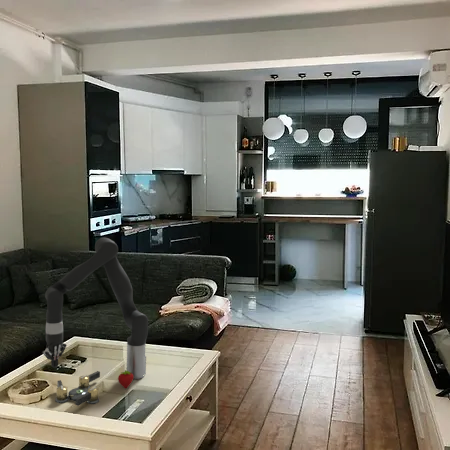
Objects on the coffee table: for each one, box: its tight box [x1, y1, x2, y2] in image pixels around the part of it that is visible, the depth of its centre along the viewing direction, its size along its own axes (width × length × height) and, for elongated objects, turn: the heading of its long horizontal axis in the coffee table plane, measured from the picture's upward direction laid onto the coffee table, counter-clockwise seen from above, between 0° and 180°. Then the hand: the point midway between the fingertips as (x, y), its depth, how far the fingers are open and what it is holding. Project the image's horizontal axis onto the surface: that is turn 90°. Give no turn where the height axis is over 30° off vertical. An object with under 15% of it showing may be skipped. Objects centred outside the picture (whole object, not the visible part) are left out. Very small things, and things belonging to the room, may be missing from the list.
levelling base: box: [55, 385, 100, 405], centre depth 227 cm, size 20×18×3 cm
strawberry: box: [117, 369, 134, 389], centre depth 238 cm, size 6×8×10 cm
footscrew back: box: [78, 370, 101, 388], centre depth 239 cm, size 12×5×5 cm, turn 152°
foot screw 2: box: [74, 386, 99, 407], centre depth 221 cm, size 12×5×5 cm, turn 152°
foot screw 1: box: [56, 379, 68, 400], centre depth 227 cm, size 12×5×5 cm, turn 25°
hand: (54, 366), depth 230 cm, fingers closed
